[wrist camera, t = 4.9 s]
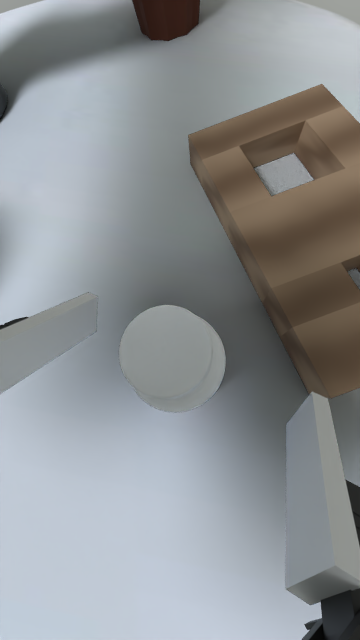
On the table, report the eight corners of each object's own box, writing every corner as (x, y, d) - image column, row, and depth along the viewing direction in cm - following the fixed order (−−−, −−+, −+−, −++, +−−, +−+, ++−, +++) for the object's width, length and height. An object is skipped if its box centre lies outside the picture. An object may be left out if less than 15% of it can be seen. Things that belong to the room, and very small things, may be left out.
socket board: (190, 163, 25) (188, 135, 22) (309, 118, 25) (321, 83, 22) (310, 397, 17) (331, 398, 14) (488, 331, 17) (545, 319, 14)
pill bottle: (232, 355, 19) (255, 321, 9) (202, 418, 17) (196, 450, 8) (173, 327, 20) (143, 272, 11) (143, 384, 19) (78, 377, 9)
